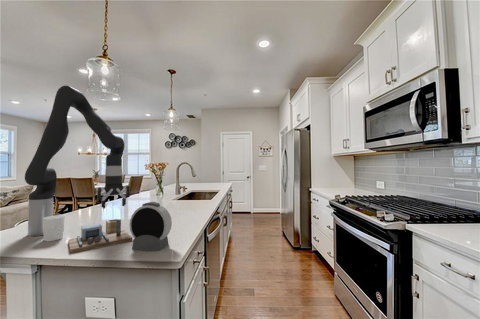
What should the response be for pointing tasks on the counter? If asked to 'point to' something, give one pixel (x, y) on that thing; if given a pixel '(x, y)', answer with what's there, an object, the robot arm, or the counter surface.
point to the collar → (111, 225)
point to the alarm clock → (150, 227)
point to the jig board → (100, 244)
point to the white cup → (53, 227)
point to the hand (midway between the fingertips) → (113, 207)
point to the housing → (91, 231)
